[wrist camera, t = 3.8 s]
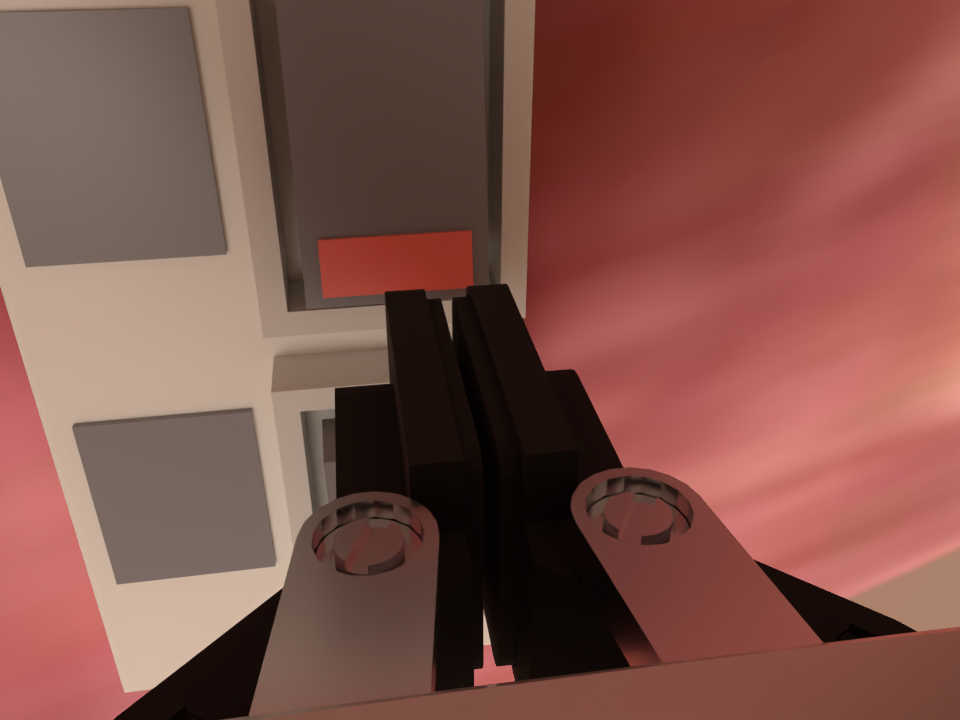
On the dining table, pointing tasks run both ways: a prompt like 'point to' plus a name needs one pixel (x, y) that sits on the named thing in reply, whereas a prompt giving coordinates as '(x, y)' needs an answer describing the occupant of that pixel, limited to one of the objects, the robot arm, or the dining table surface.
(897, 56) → the dining table surface
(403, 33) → the rocker middle
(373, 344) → the power strip
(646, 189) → the dining table surface
